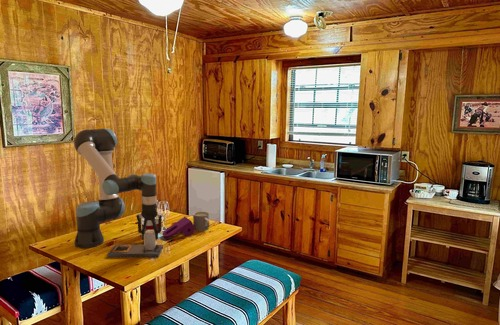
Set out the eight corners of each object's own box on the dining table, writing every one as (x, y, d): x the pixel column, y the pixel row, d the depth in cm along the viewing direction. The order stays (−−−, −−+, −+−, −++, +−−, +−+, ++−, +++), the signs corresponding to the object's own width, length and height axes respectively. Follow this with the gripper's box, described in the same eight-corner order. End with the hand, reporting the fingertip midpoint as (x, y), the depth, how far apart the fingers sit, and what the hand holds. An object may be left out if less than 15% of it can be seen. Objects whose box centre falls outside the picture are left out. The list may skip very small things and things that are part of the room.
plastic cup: (140, 238, 204) (139, 219, 202) (158, 236, 209) (157, 217, 207) (143, 245, 194) (143, 225, 193) (162, 242, 200) (162, 222, 198)
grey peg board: (107, 257, 178) (107, 253, 178) (115, 248, 190) (115, 244, 190) (158, 257, 180) (158, 253, 179) (163, 248, 191) (163, 244, 191)
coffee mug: (191, 227, 225) (190, 212, 223) (205, 225, 230) (205, 210, 229) (198, 234, 214) (198, 218, 212) (213, 231, 219) (213, 216, 217)
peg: (145, 254, 183) (144, 232, 181) (147, 250, 187) (146, 229, 185) (153, 254, 183) (153, 232, 181) (155, 250, 187) (155, 229, 186)
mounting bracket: (171, 248, 205) (196, 231, 213) (165, 238, 202) (191, 220, 210) (166, 243, 213) (190, 226, 221) (160, 233, 210) (184, 216, 217)
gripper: (130, 204, 177) (131, 247, 180) (164, 205, 178) (165, 247, 181) (134, 201, 184) (135, 242, 188) (167, 201, 185) (167, 242, 189)
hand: (150, 244), depth 185 cm, fingers closed on peg, 4 cm apart
